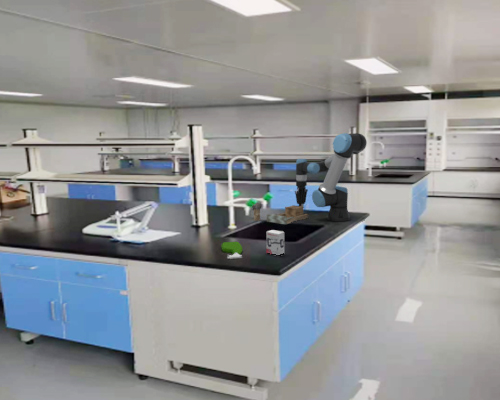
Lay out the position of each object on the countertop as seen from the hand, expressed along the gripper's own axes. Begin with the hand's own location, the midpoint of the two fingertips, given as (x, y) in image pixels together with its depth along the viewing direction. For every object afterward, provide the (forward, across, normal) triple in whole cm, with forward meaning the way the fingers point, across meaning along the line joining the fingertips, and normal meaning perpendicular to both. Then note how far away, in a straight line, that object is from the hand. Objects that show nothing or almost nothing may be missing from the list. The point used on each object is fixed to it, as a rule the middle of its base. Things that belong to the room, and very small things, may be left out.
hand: (301, 212), depth 328 cm
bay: (+2, +16, 0) cm, 16 cm away
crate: (+3, +8, 0) cm, 9 cm away
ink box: (+3, +88, +48) cm, 100 cm away
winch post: (+3, +31, -16) cm, 35 cm away
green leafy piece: (+3, +100, +29) cm, 104 cm away
